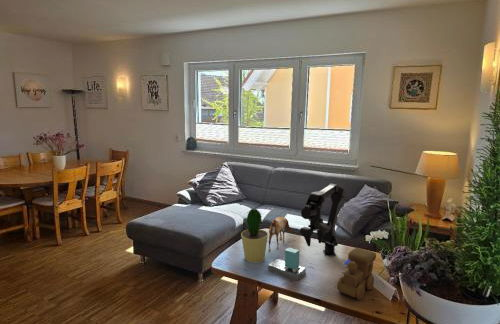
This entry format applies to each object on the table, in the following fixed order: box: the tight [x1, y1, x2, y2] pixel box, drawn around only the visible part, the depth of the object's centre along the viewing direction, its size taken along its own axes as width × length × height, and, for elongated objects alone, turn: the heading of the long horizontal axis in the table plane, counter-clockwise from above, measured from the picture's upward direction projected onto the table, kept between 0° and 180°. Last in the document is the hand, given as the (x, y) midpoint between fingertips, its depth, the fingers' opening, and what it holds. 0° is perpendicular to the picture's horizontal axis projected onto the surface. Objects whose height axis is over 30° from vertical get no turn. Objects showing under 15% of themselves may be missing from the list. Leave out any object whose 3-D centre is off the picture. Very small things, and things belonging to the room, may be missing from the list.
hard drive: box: [342, 258, 350, 268], centre depth 174 cm, size 2×8×12 cm
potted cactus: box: [240, 208, 269, 263], centre depth 179 cm, size 15×15×30 cm
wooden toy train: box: [336, 247, 377, 300], centre depth 147 cm, size 20×11×17 cm, turn 137°
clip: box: [284, 246, 300, 272], centre depth 163 cm, size 4×6×13 cm, turn 52°
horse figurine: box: [268, 216, 293, 253], centre depth 197 cm, size 31×8×21 cm, turn 152°
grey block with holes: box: [267, 258, 307, 281], centre depth 166 cm, size 9×18×3 cm, turn 52°
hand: (314, 244), depth 170 cm, fingers open, 9 cm apart
